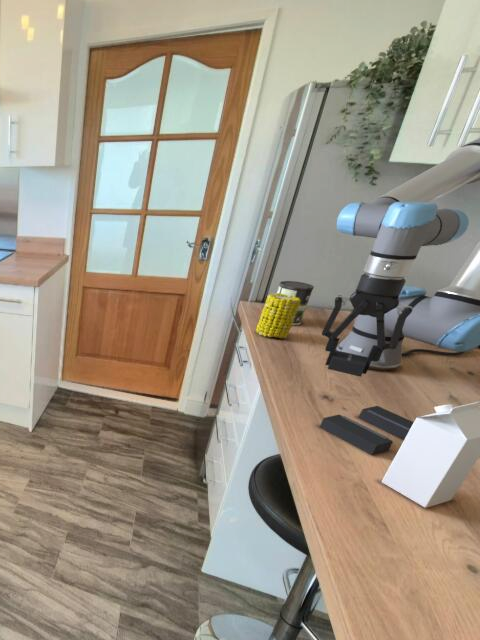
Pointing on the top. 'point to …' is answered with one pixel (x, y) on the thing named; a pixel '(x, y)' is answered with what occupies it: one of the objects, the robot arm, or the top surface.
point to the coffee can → (297, 291)
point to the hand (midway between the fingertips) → (345, 367)
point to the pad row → (364, 435)
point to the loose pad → (348, 363)
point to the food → (278, 315)
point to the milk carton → (437, 455)
